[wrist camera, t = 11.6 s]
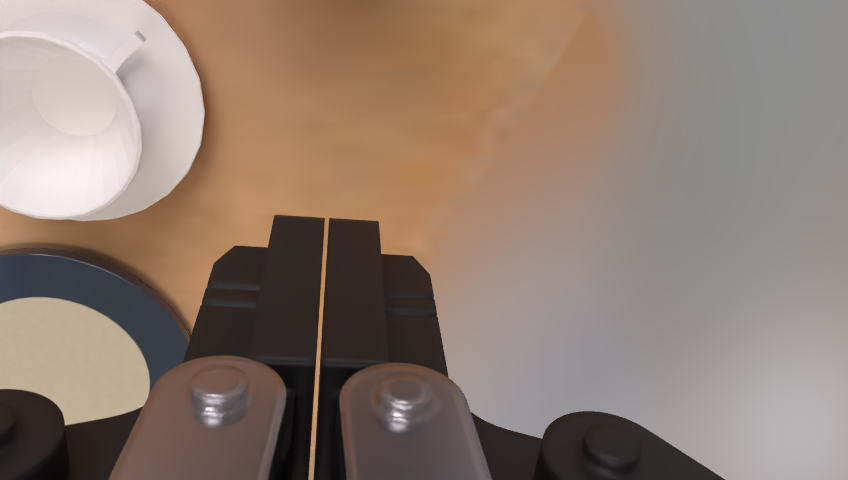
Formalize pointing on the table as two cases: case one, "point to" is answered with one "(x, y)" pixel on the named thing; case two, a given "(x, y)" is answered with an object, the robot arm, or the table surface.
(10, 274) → the plate
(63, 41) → the teacup
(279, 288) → the robot arm
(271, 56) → the table surface
